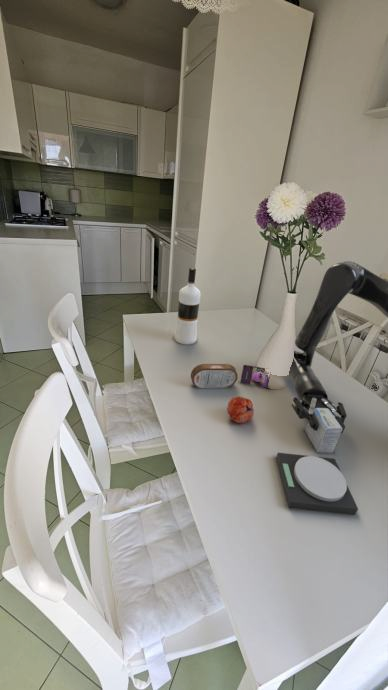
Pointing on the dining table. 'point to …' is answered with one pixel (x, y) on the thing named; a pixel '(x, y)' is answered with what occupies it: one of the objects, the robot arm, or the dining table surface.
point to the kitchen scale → (314, 484)
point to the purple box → (253, 375)
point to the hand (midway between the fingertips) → (329, 429)
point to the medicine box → (324, 431)
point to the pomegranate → (240, 409)
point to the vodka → (188, 311)
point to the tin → (214, 375)
